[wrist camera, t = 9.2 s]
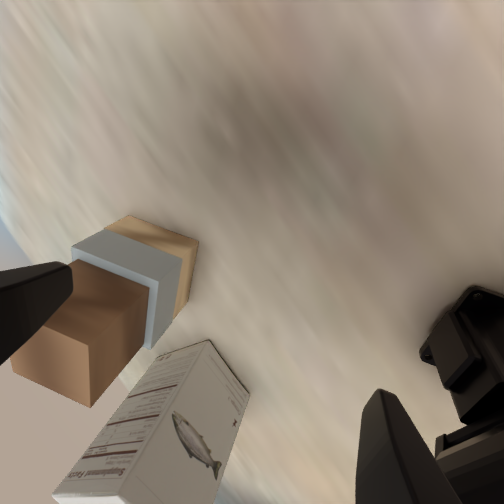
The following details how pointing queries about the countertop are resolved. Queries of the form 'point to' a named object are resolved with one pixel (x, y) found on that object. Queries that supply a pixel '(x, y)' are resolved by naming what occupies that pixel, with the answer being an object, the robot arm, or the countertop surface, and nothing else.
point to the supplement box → (164, 436)
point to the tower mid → (137, 274)
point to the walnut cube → (87, 335)
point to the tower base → (163, 249)
